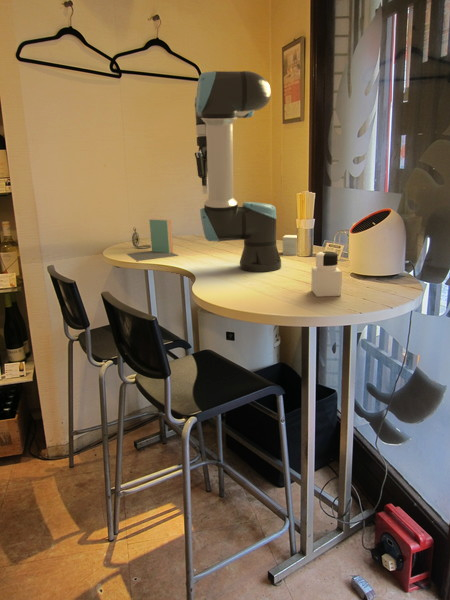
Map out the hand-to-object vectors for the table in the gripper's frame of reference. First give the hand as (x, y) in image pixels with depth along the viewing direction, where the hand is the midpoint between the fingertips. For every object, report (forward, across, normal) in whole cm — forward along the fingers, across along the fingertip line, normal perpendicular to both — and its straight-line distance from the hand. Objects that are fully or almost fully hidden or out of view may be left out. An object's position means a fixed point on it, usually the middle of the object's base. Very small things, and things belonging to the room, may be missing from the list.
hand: (208, 193), depth 203 cm
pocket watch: (+25, +12, -31) cm, 42 cm away
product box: (+25, -5, +38) cm, 45 cm away
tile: (+24, +16, -15) cm, 32 cm away
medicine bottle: (+25, +43, +73) cm, 89 cm away
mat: (+25, +23, -14) cm, 37 cm away
